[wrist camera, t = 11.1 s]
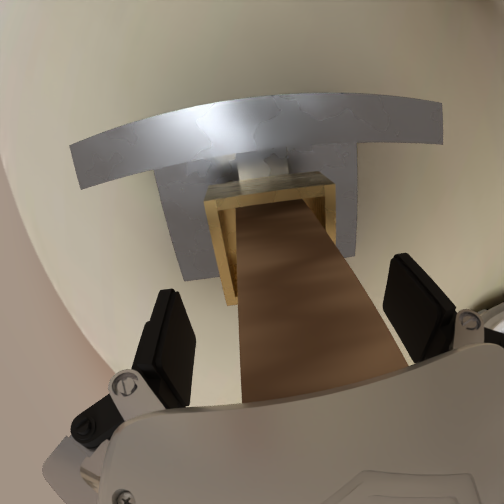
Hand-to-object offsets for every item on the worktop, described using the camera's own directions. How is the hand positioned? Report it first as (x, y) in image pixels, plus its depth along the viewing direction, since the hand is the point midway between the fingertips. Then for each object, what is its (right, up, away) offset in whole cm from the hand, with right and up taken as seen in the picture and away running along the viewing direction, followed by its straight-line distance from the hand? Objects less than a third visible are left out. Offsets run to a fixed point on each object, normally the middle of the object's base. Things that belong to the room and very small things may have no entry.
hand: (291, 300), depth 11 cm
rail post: (0, +3, +6) cm, 7 cm away
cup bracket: (-1, +7, +11) cm, 13 cm away
